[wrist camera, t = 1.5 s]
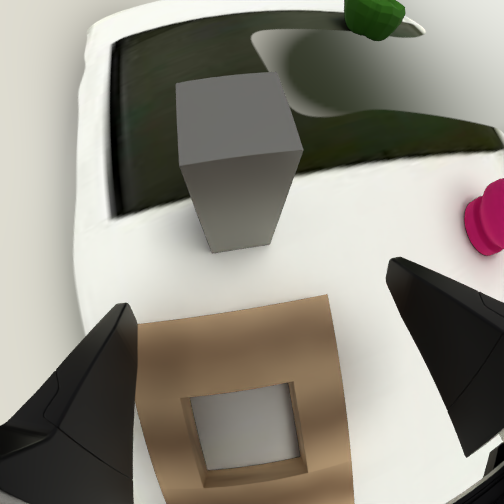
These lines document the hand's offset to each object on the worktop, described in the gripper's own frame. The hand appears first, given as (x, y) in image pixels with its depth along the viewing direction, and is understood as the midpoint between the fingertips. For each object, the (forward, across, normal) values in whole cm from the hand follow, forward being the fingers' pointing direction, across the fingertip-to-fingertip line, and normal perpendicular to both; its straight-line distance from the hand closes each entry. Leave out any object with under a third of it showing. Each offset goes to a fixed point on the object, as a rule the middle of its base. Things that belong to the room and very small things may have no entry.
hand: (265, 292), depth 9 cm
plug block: (+14, 0, +4) cm, 14 cm away
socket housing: (+2, +2, +15) cm, 16 cm away
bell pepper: (+34, -23, -16) cm, 44 cm away
